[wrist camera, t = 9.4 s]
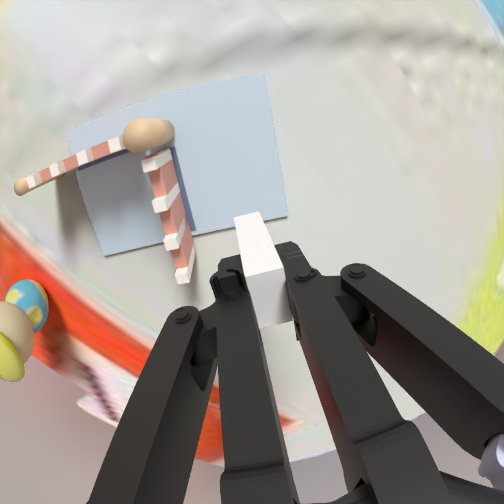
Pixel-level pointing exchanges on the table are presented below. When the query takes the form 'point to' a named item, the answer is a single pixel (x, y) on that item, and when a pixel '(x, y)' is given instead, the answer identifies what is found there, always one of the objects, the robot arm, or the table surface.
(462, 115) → the table surface
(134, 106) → the card
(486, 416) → the robot arm
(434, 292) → the table surface
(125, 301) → the table surface
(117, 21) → the table surface
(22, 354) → the toy
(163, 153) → the fence wing
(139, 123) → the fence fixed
